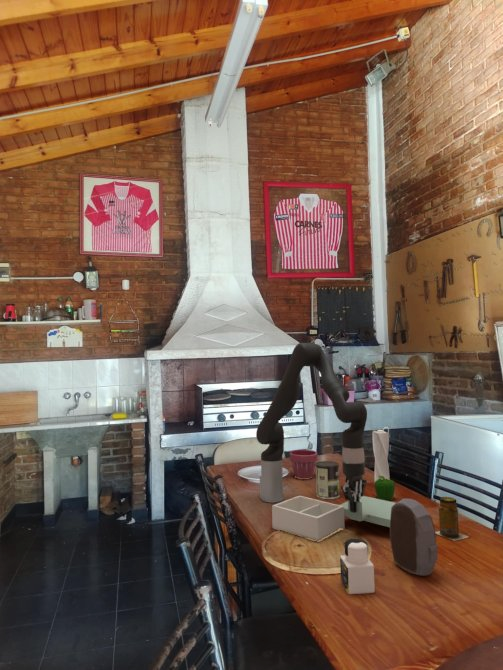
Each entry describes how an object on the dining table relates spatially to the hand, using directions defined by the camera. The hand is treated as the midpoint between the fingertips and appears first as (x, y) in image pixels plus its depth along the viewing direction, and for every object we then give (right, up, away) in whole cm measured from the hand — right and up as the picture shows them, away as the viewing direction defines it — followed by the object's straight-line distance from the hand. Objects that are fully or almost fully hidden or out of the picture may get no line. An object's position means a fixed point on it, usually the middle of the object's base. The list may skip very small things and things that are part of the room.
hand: (355, 511), depth 158 cm
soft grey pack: (+12, -7, -26) cm, 29 cm away
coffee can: (-2, -11, +45) cm, 46 cm away
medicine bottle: (-7, -7, -35) cm, 37 cm away
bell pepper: (+22, -10, +39) cm, 46 cm away
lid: (+8, -4, +8) cm, 12 cm away
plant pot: (-9, -12, +77) cm, 78 cm away
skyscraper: (+26, -11, +56) cm, 63 cm away
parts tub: (-15, -9, +7) cm, 19 cm away
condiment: (+32, -8, -2) cm, 33 cm away
